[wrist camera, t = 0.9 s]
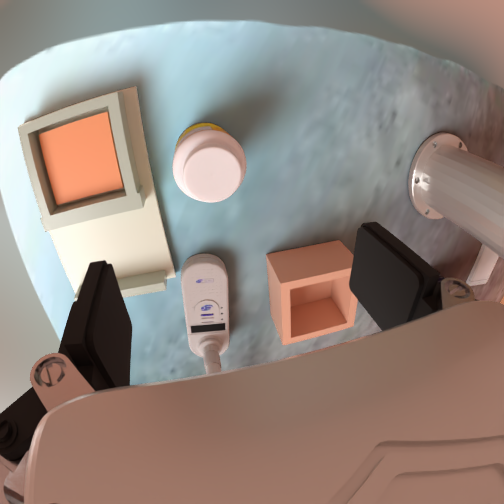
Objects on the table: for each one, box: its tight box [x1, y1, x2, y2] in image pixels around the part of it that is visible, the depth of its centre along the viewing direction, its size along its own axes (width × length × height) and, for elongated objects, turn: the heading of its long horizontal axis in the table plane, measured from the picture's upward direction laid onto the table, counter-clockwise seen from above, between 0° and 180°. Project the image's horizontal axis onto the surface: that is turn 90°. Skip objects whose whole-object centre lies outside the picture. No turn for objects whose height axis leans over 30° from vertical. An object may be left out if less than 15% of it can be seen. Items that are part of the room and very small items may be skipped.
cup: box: [266, 240, 358, 345], centre depth 37 cm, size 10×10×6 cm
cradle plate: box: [39, 111, 124, 205], centre depth 25 cm, size 8×8×1 cm
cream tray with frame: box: [18, 86, 176, 301], centre depth 27 cm, size 13×21×3 cm, turn 6°
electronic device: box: [181, 253, 230, 374], centre depth 34 cm, size 5×10×15 cm
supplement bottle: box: [173, 123, 246, 202], centre depth 24 cm, size 6×6×10 cm
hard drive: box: [466, 244, 499, 286], centre depth 47 cm, size 2×8×12 cm
